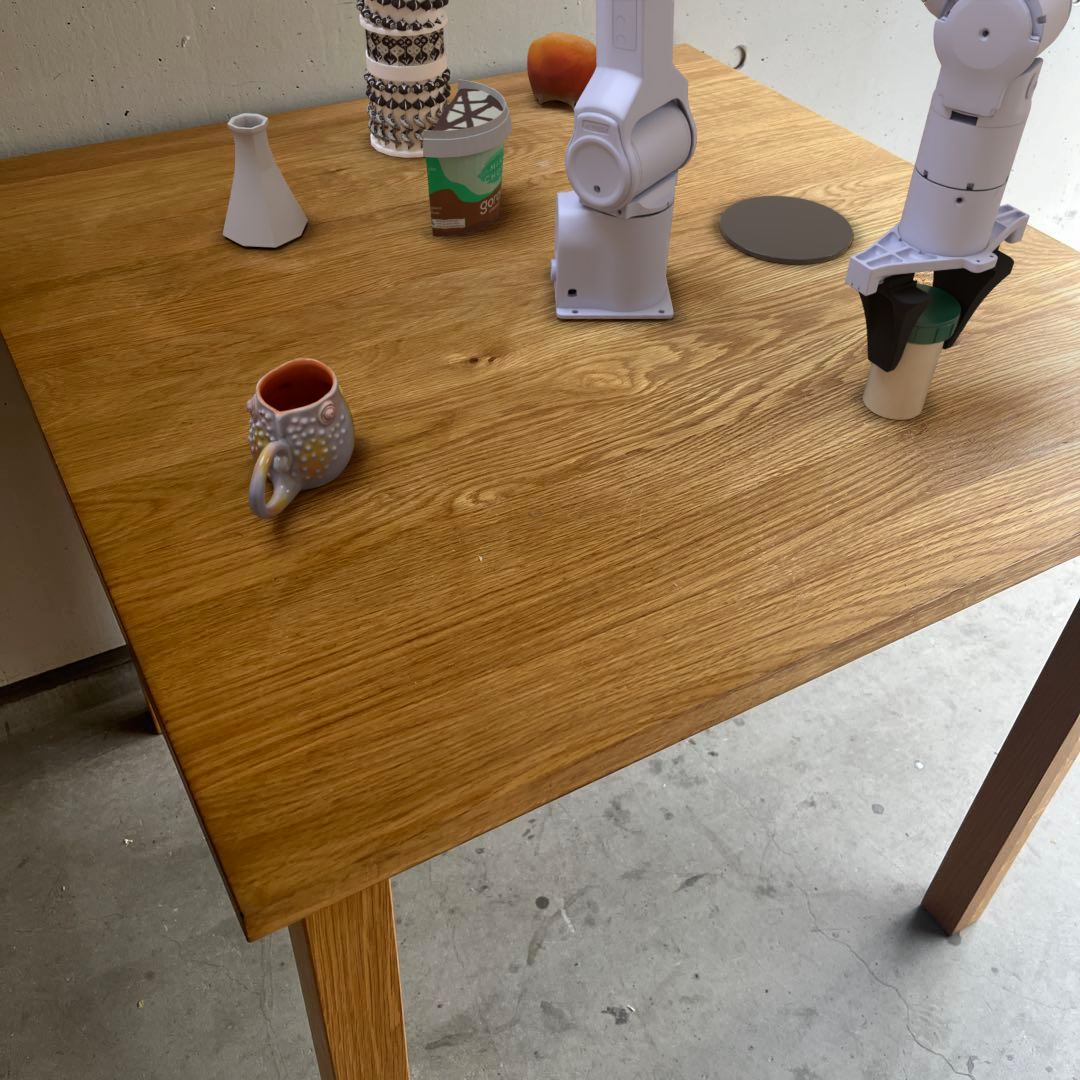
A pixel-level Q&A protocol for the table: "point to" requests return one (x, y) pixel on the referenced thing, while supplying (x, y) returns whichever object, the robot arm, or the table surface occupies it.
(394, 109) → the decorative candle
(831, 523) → the table surface
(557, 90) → the fruit
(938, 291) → the lid
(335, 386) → the mug
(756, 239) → the coaster
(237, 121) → the flask
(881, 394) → the jar
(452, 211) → the food container
